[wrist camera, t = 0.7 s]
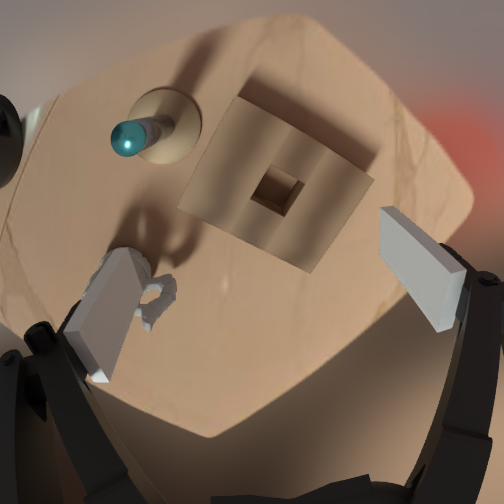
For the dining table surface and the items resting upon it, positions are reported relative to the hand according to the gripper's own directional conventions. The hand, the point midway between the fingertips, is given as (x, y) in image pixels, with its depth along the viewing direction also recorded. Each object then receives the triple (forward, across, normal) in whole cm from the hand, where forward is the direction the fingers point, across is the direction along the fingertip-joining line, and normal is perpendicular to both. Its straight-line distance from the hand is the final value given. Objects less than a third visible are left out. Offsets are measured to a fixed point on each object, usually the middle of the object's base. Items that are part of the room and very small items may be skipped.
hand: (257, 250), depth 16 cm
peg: (+23, -9, +6) cm, 25 cm away
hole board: (+23, +3, -3) cm, 24 cm away
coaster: (+24, -9, +6) cm, 26 cm away
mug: (+24, -16, -12) cm, 31 cm away
